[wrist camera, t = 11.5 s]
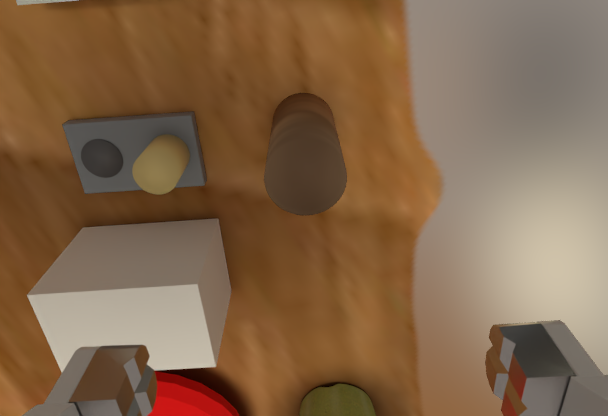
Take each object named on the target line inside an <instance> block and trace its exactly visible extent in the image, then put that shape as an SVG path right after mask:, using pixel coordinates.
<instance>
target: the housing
mask: <svg viewBox="0 0 608 416" xmlns="http://www.w3.org/2000/svg"><path fill="white" fill-rule="evenodd" d="M27 296H28V299H29V301H30V303H31V305H32V307H33V310H34V312H35V314H36V316H37V319H38V321H39V323H40V325H41V327H42V330H43V332H44V334H45V336H46V339H47V341H48V343H49V345H50V347H51V350H52V352H53V354H54V356H55V359H56V361H57V363H58V365H59V367H60V370H61V372H63V371H64V369H65V367H66V366H67V364H68V362H69V361H70V359H71V357H72V356H73V354H74V352H75V351H76V350H77V349H79V348H80V347H96V346H112V345H145V346H146V347H147V350H148V353H149V355H150V357H149V360H148V362H147V365H148V366H150V367H151V368H152V369H154V371H156V370H173V369H189V368H206V367H216V364H217V360H218V355H219V350H220V345H221V340H222V335H223V330H224V325H225V320H226V315H227V311H228V306H229V301H230V296H231V286H230V280H229V275H228V269H227V264H226V258H225V253H224V247H223V242H222V236H221V231H220V225H219V220H218V218H216V219H201V220H187V221H172V222H157V223H142V224H127V225H112V226H97V227H83V228H82V229H81V230H80V232H79V233H78V234H77V235H76V236H75V238H74V239H73V240H72V241H71V243H70V244H69V245H68V246H67V247H66V249H65V250H64V251H63V252H62V253H61V255H60V256H59V257H58V258H57V259H56V261H55V262H54V263H53V264H52V265H51V267H50V268H49V269H48V270H47V272H46V273H45V274H44V275H43V276H42V278H41V279H40V280H39V281H38V282H37V284H36V285H35V286H34V287H33V288H32V290H31V291H30V292H29V293H28V294H27Z"/></svg>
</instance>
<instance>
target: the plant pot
mask: <svg viewBox="0 0 608 416" xmlns="http://www.w3.org/2000/svg"><path fill="white" fill-rule="evenodd" d="M299 416H376V414H375V411H374V408H373V405H372V402H371V400H370V398H369V396H368V395H367V394H366V393H365V392H364V391H362V390H361V389H359V388H357V387H354V386H351V385H347V384H336V385H334V386H331V387H318V388H316V389H314V390H312V391H311V392H310V393H308V394H307V395H306V396H305V398H304V399H303V401H302V403H301V407H300V412H299Z"/></svg>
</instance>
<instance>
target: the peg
mask: <svg viewBox="0 0 608 416" xmlns="http://www.w3.org/2000/svg"><path fill="white" fill-rule="evenodd" d="M264 182H265V187H266V190H267V192H268V194H269V196H270V198H271V199H272V200H273V201H274V203H275V204H276V205H278V206H279V207H280V208H282V209H283V210H285V211H287V212H290V213H293V214H297V215H314V214H318V213H321V212H323V211H325V210H327V209H329V208H330V207H332V206H333V205H334V204H335V203H336V202H337V201H338V200H339V199H340V197H341V196H342V194H343V192H344V190H345V187H346V182H347V172H346V168H345V163H344V159H343V155H342V151H341V147H340V143H339V139H338V135H337V131H336V126H335V122H334V118H333V114H332V111H331V109H330V108H329V106H328V105H327V103H326V102H325V101H324V100H322V99H321V98H319V97H318V96H316V95H313V94H309V93H298V94H294V95H291V96H289V97H287V98H286V99H284V100H283V101H282V102H281V103H280V104H279V106H278V107H277V109H276V111H275V113H274V117H273V123H272V129H271V136H270V142H269V148H268V155H267V161H266V167H265V174H264Z"/></svg>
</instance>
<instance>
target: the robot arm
mask: <svg viewBox="0 0 608 416" xmlns="http://www.w3.org/2000/svg"><path fill="white" fill-rule="evenodd" d="M489 339H490V341H491V343H492V345H493V346H492V347H491V348H490V349H489V350H488V351H487V354H486V361H485V364H486V374H487V378H488V381H489V384H490V387H491V389H492V391H493V393H494V394H495V395H496V396H498V397H499V398H500V399H502V400H503V403H502V408H501V411H502V413H503V415H504V416H608V375H603V373H602V372H601V371H600V370H599V368H598V367H597V366H596V364H595V363H594V362H593V360H592V359H591V358H590V356H589V355H588V354H587V352H586V351H585V350H584V348H583V347H582V346H581V345H580V343H579V342H578V340H577V339H576V338H575V337H574V335H573V334H572V333H571V331H570V330H569V329H568V327H567V326H566V325H565V323H563V322H562V321H560V320H556V321H542V322H530V323H515V324H514V323H513V324H499V325H493V326H492V328H491V329H490V335H489ZM149 357H150V355H149V353H148V350H147V347H146V346H145V345H112V346H96V347H80V348H79V349H77V350H76V351H75V352H74V354H73V356H72V357H71V359H70V361H69V362H68V364H67V366H66V367H65V369H64V371H63V372H62V374H61V376H60V377H59V379H58V381H57V382H56V384H55V386H54V387H53V389H52V391H51V392H50V394H49V396H48V397H47V399H46V401H45V402H44V404H42V405H36V406H35V407H33V408H32V409H30V410H29V411H28V412H26V413H25V414H24V415H22V416H147V415H148V414H149V413H151V412H152V410H153V407H154V404H155V401H156V393H157V379H156V375H155V371H154V369H152V368H151V367H150V366H148V365H147V362H148V360H149Z"/></svg>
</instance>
